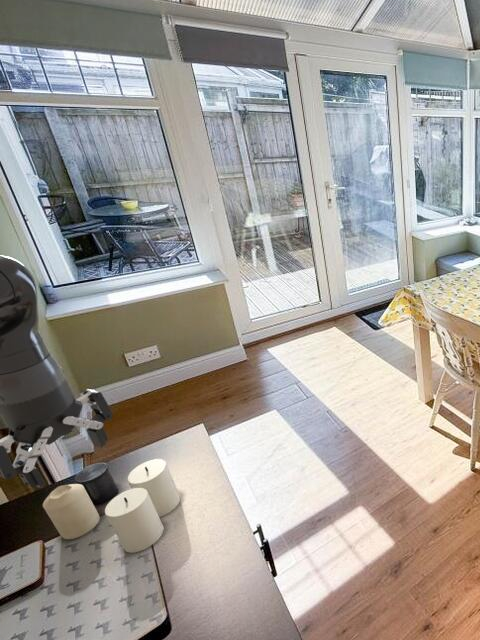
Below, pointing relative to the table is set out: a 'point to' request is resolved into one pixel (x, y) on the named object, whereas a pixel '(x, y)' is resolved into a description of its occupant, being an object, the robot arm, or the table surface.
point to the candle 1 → (71, 510)
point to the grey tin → (97, 483)
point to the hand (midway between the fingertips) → (71, 464)
